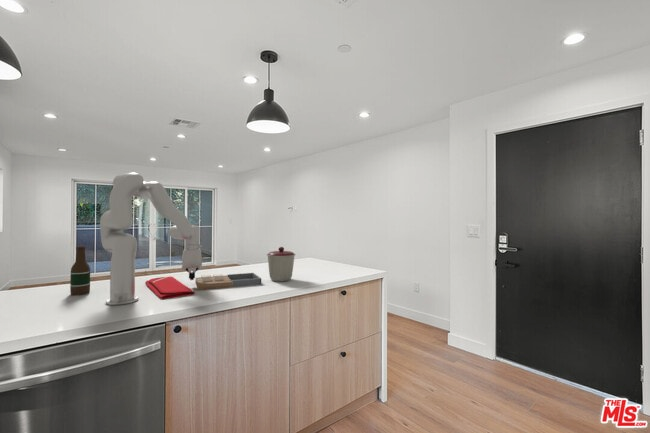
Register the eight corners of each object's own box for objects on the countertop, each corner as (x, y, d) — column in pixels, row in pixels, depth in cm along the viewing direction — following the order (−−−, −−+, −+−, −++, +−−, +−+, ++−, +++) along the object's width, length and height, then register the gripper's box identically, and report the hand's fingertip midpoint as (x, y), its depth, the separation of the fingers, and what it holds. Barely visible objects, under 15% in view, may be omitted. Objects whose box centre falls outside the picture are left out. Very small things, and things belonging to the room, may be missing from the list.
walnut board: (232, 287, 171) (232, 281, 171) (198, 290, 163) (198, 284, 163) (226, 280, 189) (226, 275, 189) (195, 282, 181) (195, 277, 181)
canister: (267, 283, 180) (267, 248, 180) (265, 277, 198) (266, 245, 198) (297, 282, 185) (297, 248, 185) (293, 276, 202) (293, 245, 202)
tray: (261, 284, 179) (261, 278, 179) (233, 286, 171) (233, 280, 171) (253, 278, 196) (253, 272, 196) (227, 280, 189) (227, 274, 189)
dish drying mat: (160, 300, 144) (160, 293, 144) (144, 285, 175) (144, 278, 175) (194, 295, 154) (194, 288, 154) (173, 281, 185) (173, 275, 185)
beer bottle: (78, 296, 148) (79, 247, 148) (66, 295, 150) (66, 246, 150) (93, 292, 156) (94, 245, 156) (81, 291, 157) (82, 245, 158)
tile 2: (223, 279, 176) (223, 275, 176) (214, 280, 174) (214, 276, 174) (221, 278, 180) (221, 274, 180) (212, 278, 178) (213, 274, 178)
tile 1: (211, 280, 173) (211, 276, 173) (201, 281, 171) (201, 277, 171) (210, 279, 178) (210, 274, 178) (201, 279, 175) (201, 275, 175)
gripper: (205, 246, 178) (205, 277, 177) (177, 247, 171) (177, 279, 171) (207, 247, 171) (206, 279, 171) (177, 248, 164) (177, 282, 164)
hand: (191, 279), depth 171 cm, fingers closed
